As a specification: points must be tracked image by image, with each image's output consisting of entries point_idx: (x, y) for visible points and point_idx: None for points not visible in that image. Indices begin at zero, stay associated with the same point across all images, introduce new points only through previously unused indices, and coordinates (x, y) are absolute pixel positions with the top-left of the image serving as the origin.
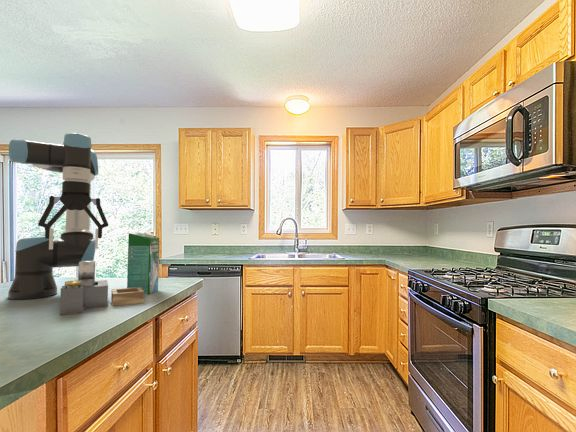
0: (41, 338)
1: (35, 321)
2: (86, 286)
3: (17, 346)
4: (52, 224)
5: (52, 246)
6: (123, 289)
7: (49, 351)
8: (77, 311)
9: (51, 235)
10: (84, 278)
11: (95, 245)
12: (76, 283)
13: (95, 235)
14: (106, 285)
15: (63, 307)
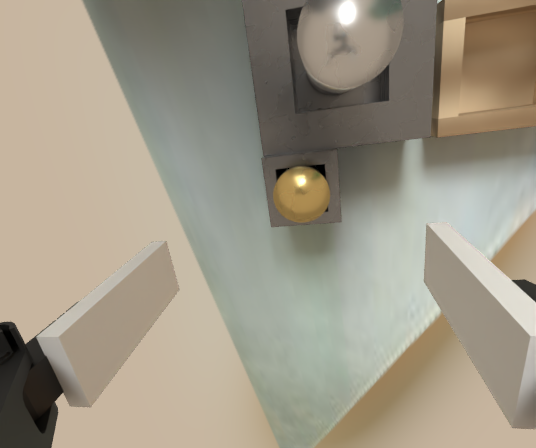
0: (287, 356)
1: (241, 238)
2: (343, 125)
3: (263, 376)
4: (19, 393)
5: (164, 272)
6: (500, 10)
7: (313, 413)
8: None
9: (126, 355)
10: (333, 92)
11: (435, 294)
12: (316, 216)
13: (471, 355)
14: (424, 128)
15: None
